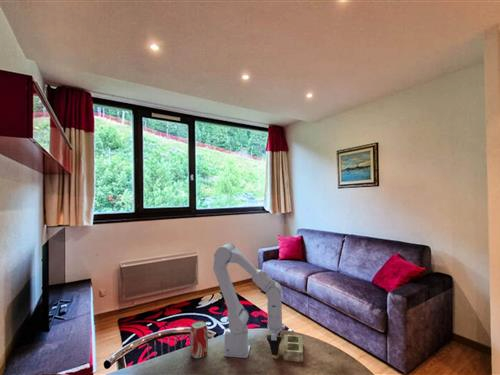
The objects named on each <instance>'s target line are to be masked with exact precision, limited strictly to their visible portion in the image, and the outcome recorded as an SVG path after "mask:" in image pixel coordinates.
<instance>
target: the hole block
mask: <svg viewBox="0 0 500 375" xmlns="http://www.w3.org/2000/svg"><path fill="white" fill-rule="evenodd" d="M283 336H284V337H283V361H287V362H300V363H301V362H302V363H304V349H303V348H304V346H303V345H304V344H303V335H300V334H299V335H298V334H297V335H296V334H284V335H283Z"/></svg>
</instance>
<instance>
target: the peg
mask: <svg viewBox="0 0 500 375" xmlns="http://www.w3.org/2000/svg"><path fill="white" fill-rule="evenodd" d="M277 337H279V335H277ZM271 358H272V359H274V360H277V359H279V358H280V349H279V350H278V355H277V356H276V355H272V354H271Z"/></svg>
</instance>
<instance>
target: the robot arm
mask: <svg viewBox="0 0 500 375" xmlns="http://www.w3.org/2000/svg"><path fill="white" fill-rule="evenodd" d="M213 258H214V259H213V268H212V269H213V271H214V272H213V273H214V275H215V277H216V280H217V283H218V286H219V289H220V292H221V294H222V296H223V299H224V301H225V305H226V308H227V320H228V327H227V328H226V329H225V333H224V355H223V356H224V357H231V358H242V359H243V358H244V359H248V356H249V353H250V349H251V345H250V344H249V327H248V325H247V323H248V321H249V318H250V316H249V312H248V310H246V309H245V308H244V306H243V304H241V302H240V300H239V298H238V295H237V293H236V290H235V286H234V285H233V281H232V279H231V276H230V274H229V271H228V268H227V267H228V265H229V264H237V265H239V266H240V267H241V268H242V269H244V271H246V272H247V273H248V274H249V275H250V276H251V281H253V283H255V285H257V286H258V288H259V289H261V290H262V291H263V292H264V293H265V296H266V299H267V304H266V305H267V329H268V332H269V334H270V335H268V334H267V335H266V341H267V342H268V344H269V347H270V348H269V349H270V351H271V356H272V355H276V356H277V355H278V350H279V351H280V345H281V342H282V338H283V337H282V336H281V333H282V332H281V331H282V330H285V329H286V325H285V324H283V309H282V308H283V306H282V292H283V288H282V285H281V284H280V282H279V281H276V280H275V279H272V278H271V276H269V275H268V274H267V271H266V270H263V269H257V268H256V267H255V266H254V265H253V264H252V262H251V261H250V260H249V259H248V258H247V257H246V256H245V255H244V254H243V253H242V251H241V250H240V249H239V248H237V247H236V246H235V244H233V243H230V242H227V243H226V244H223V246H221V247H218V248H216V250H215V252H214V254H213ZM277 335H279V337H277Z"/></svg>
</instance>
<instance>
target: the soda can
mask: <svg viewBox="0 0 500 375" xmlns="http://www.w3.org/2000/svg"><path fill="white" fill-rule="evenodd" d="M208 330H209V329H208V326H207V322H206V321H203V320H197V321H195V322H193V323H192V324H191V328H190V330H189V332H190V335H189V338H190V339H189V342H190V343H189V344H190V345H189V350H190V356H191V357H192V358H195V359H201V358H204V357H205V356H206V355H207V354H208V350H209V341H208V340H209V334H208Z"/></svg>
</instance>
